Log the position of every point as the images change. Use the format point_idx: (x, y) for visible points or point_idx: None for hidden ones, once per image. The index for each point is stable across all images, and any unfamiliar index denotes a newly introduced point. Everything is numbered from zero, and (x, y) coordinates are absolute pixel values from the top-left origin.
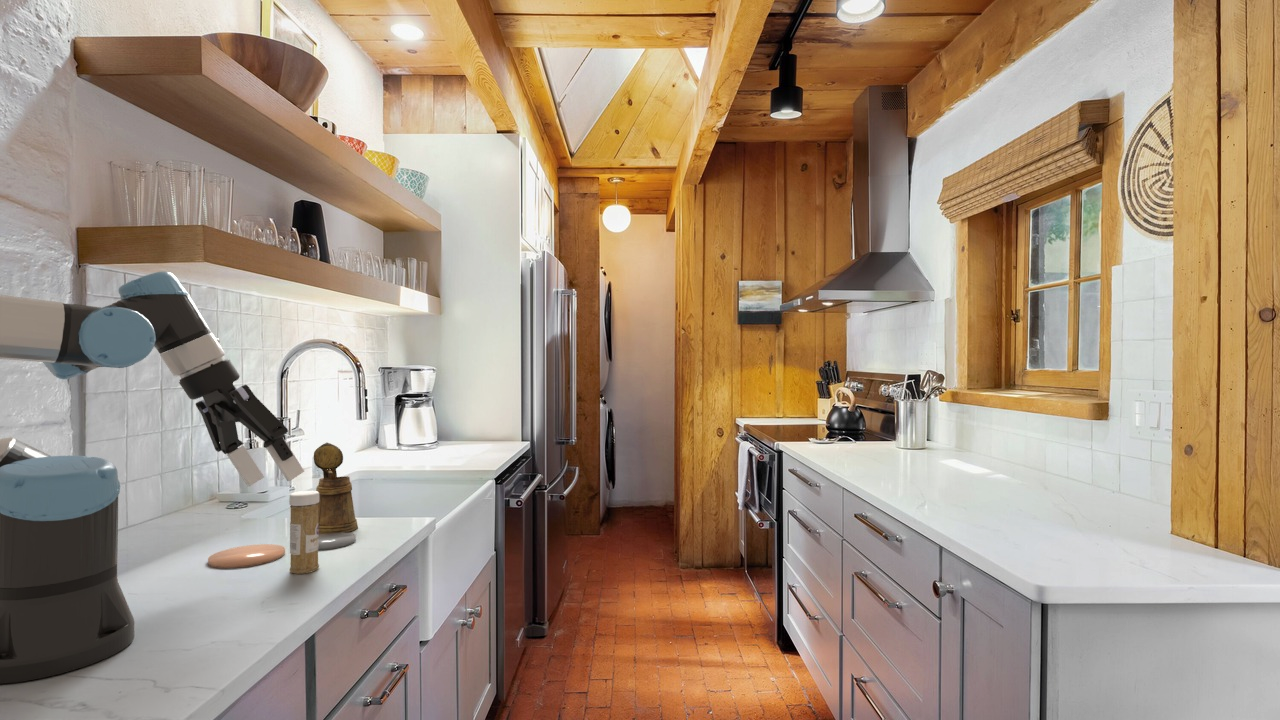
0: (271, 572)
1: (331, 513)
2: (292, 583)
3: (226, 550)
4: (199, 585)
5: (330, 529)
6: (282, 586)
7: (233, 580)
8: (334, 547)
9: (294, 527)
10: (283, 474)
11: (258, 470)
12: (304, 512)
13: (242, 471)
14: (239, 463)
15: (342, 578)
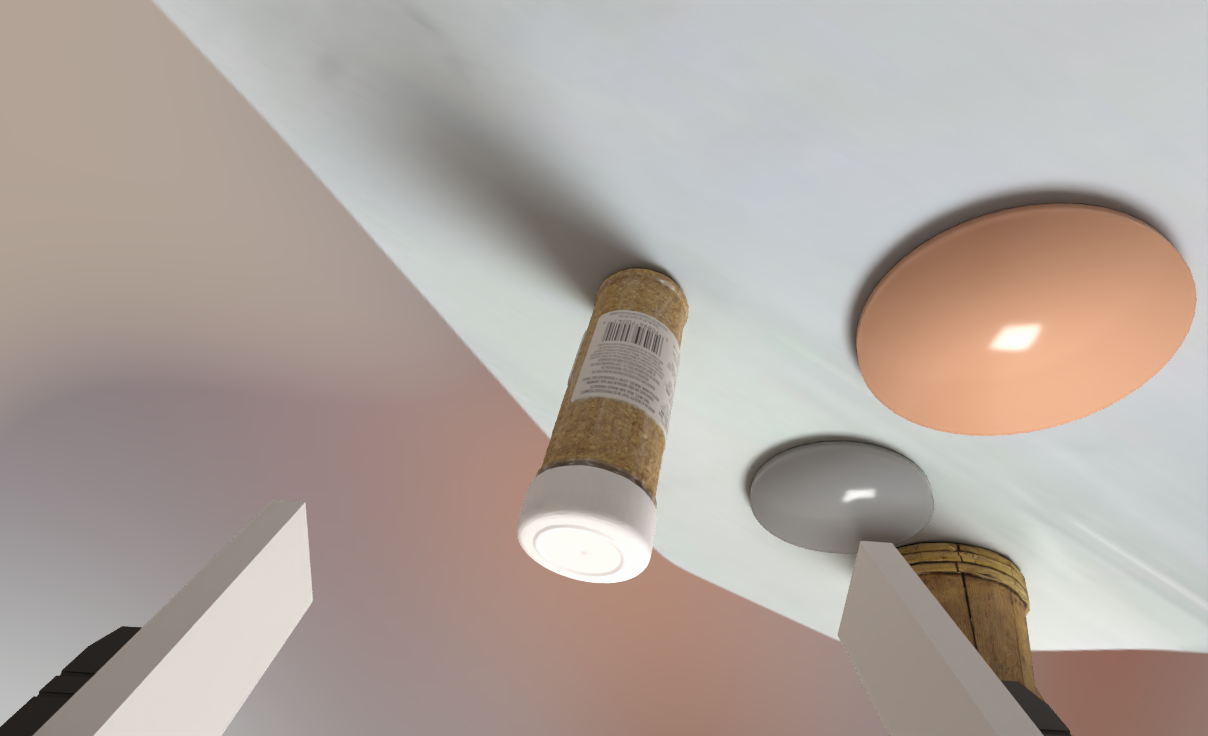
0: (734, 251)
1: None
2: (544, 203)
3: (1167, 342)
4: (891, 9)
5: (908, 562)
6: (541, 168)
7: (792, 129)
8: (762, 467)
9: (597, 386)
10: (268, 534)
11: (863, 676)
12: (550, 451)
13: (918, 640)
14: (954, 715)
15: (461, 293)
